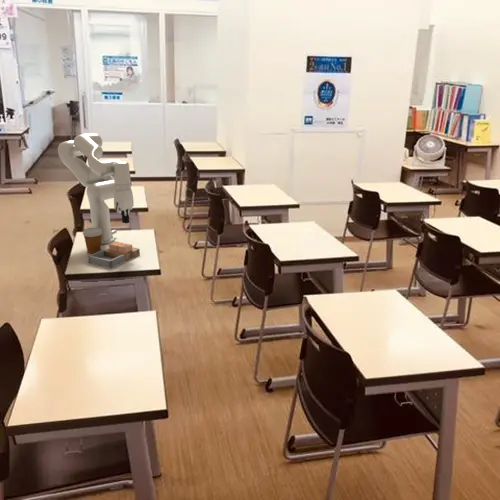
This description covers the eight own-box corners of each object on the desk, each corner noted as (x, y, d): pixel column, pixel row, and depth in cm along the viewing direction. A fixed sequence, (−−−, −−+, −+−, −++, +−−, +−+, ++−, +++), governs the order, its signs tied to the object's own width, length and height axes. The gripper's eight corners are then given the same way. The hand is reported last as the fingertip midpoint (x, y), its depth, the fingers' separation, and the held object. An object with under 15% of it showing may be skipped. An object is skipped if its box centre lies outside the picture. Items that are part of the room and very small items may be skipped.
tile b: (124, 248, 270) (124, 243, 269) (132, 250, 267) (132, 244, 266) (117, 251, 265) (117, 245, 264) (125, 253, 263) (125, 247, 262)
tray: (102, 256, 267) (102, 249, 266) (125, 261, 261) (124, 254, 260) (88, 262, 259) (87, 256, 258) (111, 268, 253) (110, 261, 252)
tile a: (116, 246, 272) (115, 241, 271) (123, 248, 270) (123, 242, 269) (109, 249, 268) (108, 244, 267) (117, 251, 266) (116, 245, 265)
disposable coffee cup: (98, 256, 267) (96, 233, 263) (81, 255, 269) (78, 232, 265) (107, 250, 276) (105, 227, 272) (90, 248, 278) (88, 226, 274)
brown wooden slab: (118, 249, 277) (118, 244, 276) (139, 254, 271) (139, 248, 270) (104, 256, 267) (103, 250, 266) (125, 261, 262) (125, 255, 261)
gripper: (126, 183, 273) (129, 218, 279) (106, 189, 261) (110, 225, 267) (138, 184, 270) (141, 219, 276) (118, 190, 257) (122, 227, 263)
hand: (125, 222), depth 271 cm, fingers closed
